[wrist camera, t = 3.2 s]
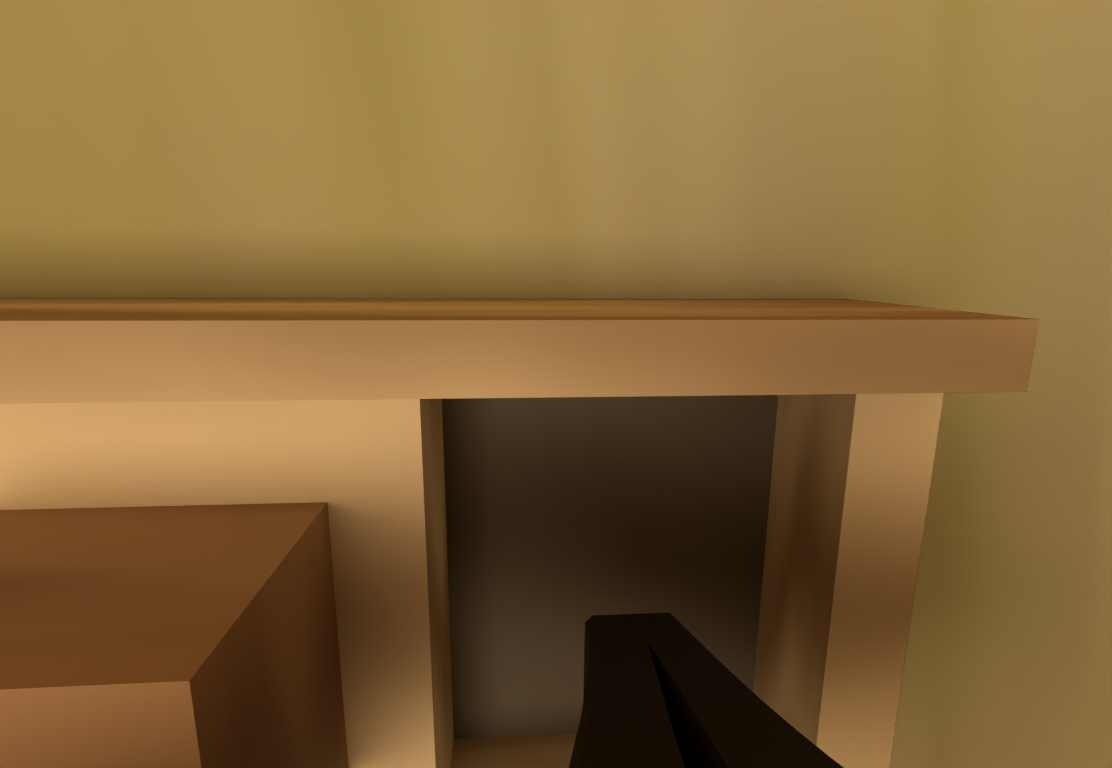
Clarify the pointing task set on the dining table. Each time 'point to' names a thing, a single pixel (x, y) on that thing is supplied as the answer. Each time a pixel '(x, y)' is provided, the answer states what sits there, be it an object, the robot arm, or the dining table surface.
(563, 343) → the trap trough
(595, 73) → the dining table surface
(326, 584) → the walnut block
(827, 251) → the dining table surface
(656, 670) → the robot arm
